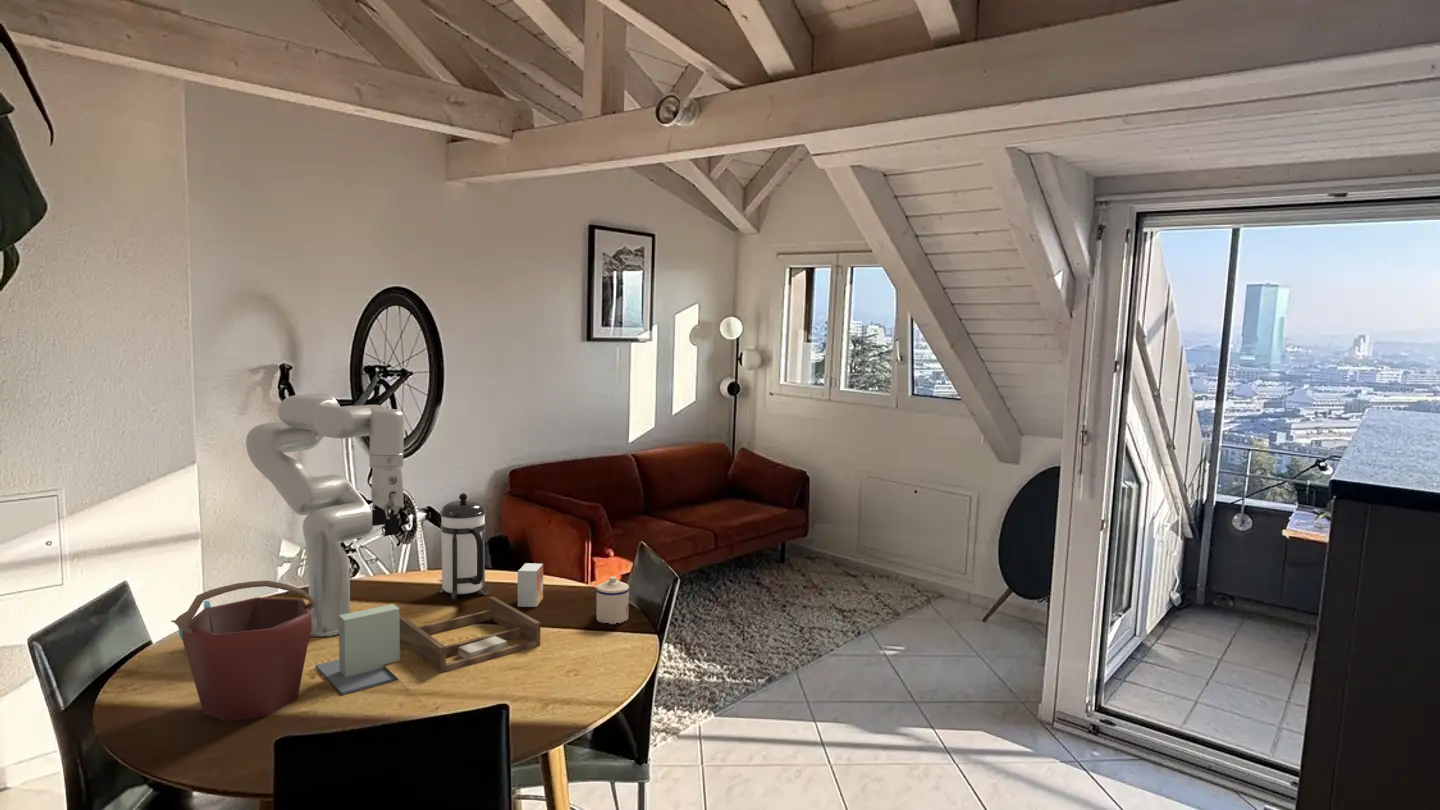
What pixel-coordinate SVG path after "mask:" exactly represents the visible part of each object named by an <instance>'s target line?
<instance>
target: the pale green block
mask: <svg viewBox="0 0 1440 810" xmlns="http://www.w3.org/2000/svg"><path fill="white" fill-rule="evenodd" d="M400 617H401V616H400V608H399V607H398V606H397V605H395V604H393V603H391V604H387V605H381V606H378V607H377V606H376V607H372V608H367V609H362V610H359V611H358V610H356V611H353V612H350V613H347V614H342V615H339V635H338V654H339V655H338V656H339V659H338V660H339V667H340V672H341V673H342V674H343V675H344V676H345V677H349V676H352V675H356V674H360V673H364V672H368V671H372V670H376V669H379V668H383V667H386V666H385V665H387V664H391V663H395V662H400V661H401V641H400Z"/></svg>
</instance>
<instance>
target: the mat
mask: <svg viewBox="0 0 1440 810" xmlns="http://www.w3.org/2000/svg"><path fill="white" fill-rule="evenodd" d="M315 669H317V671H318V672H319V673H320V672H321V673H322V674H323V675H324V676H325V677H324V676H323V675H322V674H321V675H322V676H323V677H324V678H325V679H326V680H327V681H328V682H329V683H330V685H332V686H333V687H334V688H335V690H336V691H337V692H339V694H340V695H341V696H342V695H347V694H351V693H355V692H358V691H362V690H365V689H369V688H373V687H376V686H379V685H384V684H387V683H392V682H395V681H399V680H400V679H399V678H398V677H397V676H396V675H395V674H394V673H393V672H391V670H390V669H388V668H387V666H385V667H383V668H379V669H376V670H372V671H368V672H364V673H360V674H356V675H352V676H349V677H345V676H344V675H343V674H342V673H341V672H340V667H339V659H335V660H331V661H327V662H326V661H325V662H323V663H318V664H316V665H315Z"/></svg>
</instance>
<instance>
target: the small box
mask: <svg viewBox="0 0 1440 810" xmlns="http://www.w3.org/2000/svg"><path fill="white" fill-rule="evenodd" d="M543 599H544V563H536V562H534V563H533V562H532V563H529V562H527V563H526V562H525V563H524V564H523V565H522V566H521V568H520V569H518V570H517V607H518V608H519V607H522V608H526V607H527V608H537V607H538V606H539V604H540V603H541V602H542V600H543Z"/></svg>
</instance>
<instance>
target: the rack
mask: <svg viewBox="0 0 1440 810" xmlns="http://www.w3.org/2000/svg"><path fill="white" fill-rule="evenodd" d="M490 620H491V621H493V622H494V623H496V624H498V625H500V626H501V627H503V628H504V629H506V630H503V631H498V632H494V633H491V634H487V635H482V636H479V637H475V638H471V639H467V640H463V641H459V642H455V643H451V644H446V645H444V644H443V643H442V642H440V641H438V640H437V639H436V638H435V637H433V636H431V635H433V634H436V633H440V632H441V633H442V632H444V631H448V630H453V629H457V628H461V627H465V626H469V625H472V624H477V623H482V622H485V621H490ZM493 636H496V637H499V638H501V639H503V640H506V641H507V642H508V641H512V640H516V639H519V638H521V639H523V640H524V642H521V643H517V644H514V645H510V646H509V645H508V646H509V647H506V648H502V649H498V650H495V651H491V652H487V653H483V654H480V655H476V656H472V657H469V658H465V659H461V658H460V659H458V660H455V661H451V662H446V661H447V659H446V658H448V657H451V656H456V655H458V654H459V652H458V647H461V646H464V645H468V644H471V643H474V642H477V641H481V640H484V639H487V638H490V637H493ZM400 643H402V644H403V646H406V647H407V648H408V649H410V650H411V651H412V652H414V653H415V654H416V655H417V656H418V657H420V658H421V659H422V660H424V661H425V662H426V663H427V664H429V665H430V666H431V667H433V668H434V669H435V670H436V671H438V672H439V673H445V672H448V671H452V670H456V669H459V668H462V667H463V668H464V667H466V666H471V665H474V664H477V663H482V662H485V661H488V660H491V659H492V660H493V659H495V658H499V657H503V656H507V655H510V654H514V653H517V652H520V651H524V650H528V649H531V648H535V647H538V646H541V621H539V620H537V619H535V618H533V617H531V616H529V615H528V614H526V613H524V612H522V611H520V610H518V609H517V608H515V607H513V606H512V605H509V603H506V602H504V601H503V600H500V599H498V598H497V597H495V596H489V597H488V610H482V611H479V612H476V613H469V614H465V615H460V616H457V617H454V618H452V617H451V618H447V619H444V620H441V621H435V622H432V623H427V624H422V625H418V626H417V624H415V623H413V622H412V621H410V620H409V619H408V618H406V617H405V616H404V615H402V616H400Z"/></svg>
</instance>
